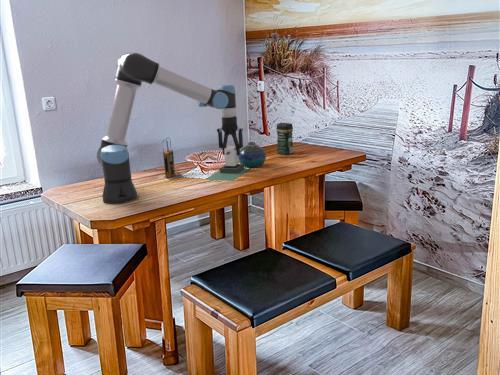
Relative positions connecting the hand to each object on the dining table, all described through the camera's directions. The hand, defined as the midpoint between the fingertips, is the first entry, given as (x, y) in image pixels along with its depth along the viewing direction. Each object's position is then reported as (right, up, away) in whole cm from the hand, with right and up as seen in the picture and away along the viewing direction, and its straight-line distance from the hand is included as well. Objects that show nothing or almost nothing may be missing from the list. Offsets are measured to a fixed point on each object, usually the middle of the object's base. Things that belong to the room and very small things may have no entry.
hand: (231, 161), depth 248 cm
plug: (0, -2, 0) cm, 2 cm away
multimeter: (-29, -8, +3) cm, 30 cm away
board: (-2, -8, -4) cm, 9 cm away
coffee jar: (+31, +7, +43) cm, 53 cm away
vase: (+11, -2, +15) cm, 18 cm away
